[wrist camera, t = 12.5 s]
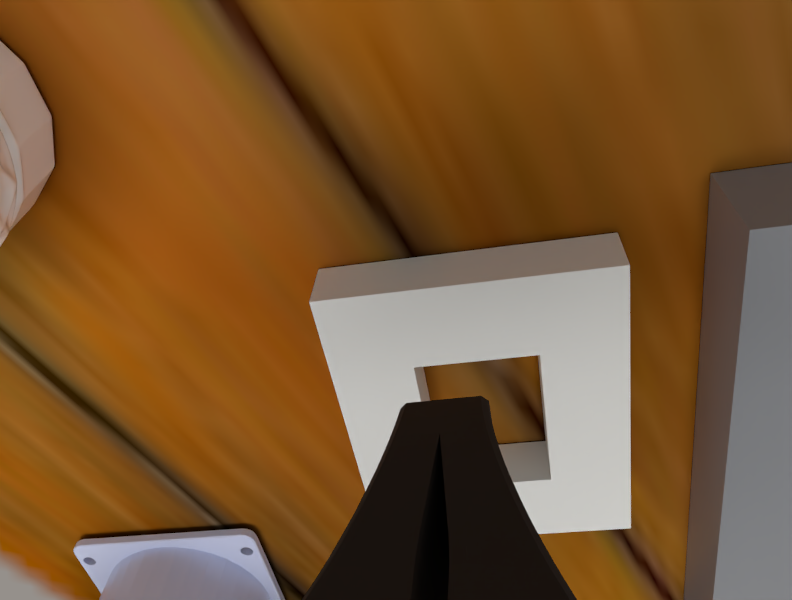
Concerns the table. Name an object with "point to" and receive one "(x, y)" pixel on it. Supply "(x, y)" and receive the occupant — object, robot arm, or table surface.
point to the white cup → (21, 141)
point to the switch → (744, 394)
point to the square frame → (497, 339)
